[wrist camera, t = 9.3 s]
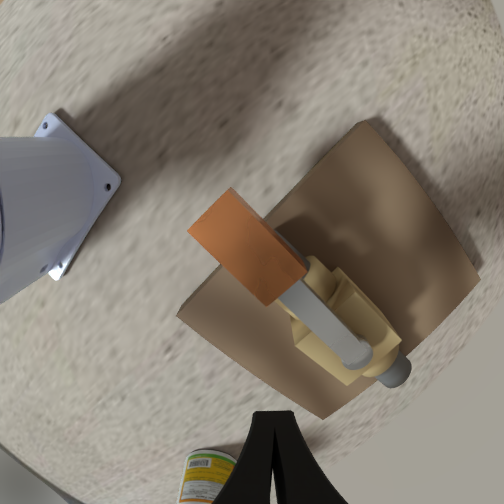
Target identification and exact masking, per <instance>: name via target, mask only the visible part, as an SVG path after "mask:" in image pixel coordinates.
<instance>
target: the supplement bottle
mask: <svg viewBox="0 0 504 504" xmlns="http://www.w3.org/2000/svg"><path fill="white" fill-rule="evenodd" d="M236 463H237V461H236V460H235V459H234V458H233V457H232V456H230V455H228V454H226V453H223V452H219V451H214V450H198V451H194V452H192V453H190V454H189V455H188V456H187V458H186V460H185V464H184V469H183V473H182V478H181V482H180V487H179V492H178V496H177V501H176V504H211V503H212V502H213V501H214V499H215V498H216V496H217V495H218V494H219V492H220V491H221V489H222V487H223V486H224V484H225V483H226V481H227V479H228V478H229V476H230V474H231V472H232V470H233V468H234V466H235V464H236Z"/></svg>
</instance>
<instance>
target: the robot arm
mask: <svg viewBox="0 0 504 504" xmlns="http://www.w3.org/2000/svg"><path fill="white" fill-rule="evenodd" d="M47 123H48V127H47V128H46V124H47ZM108 183H109V184H110V185H111V190H110V191H109V190H108V189H107V184H108ZM120 184H121V177H120V176H119V174H118V173H117V172H116V171H114V170H113V169H112V168H111V167H110V166H109V165H108V164H107V163H106V162H105V161H104V160H103V159H102V158H101V157H100V156H98V155H97V154H96V153H95V152H94V151H93V150H92V149H91V148H90V147H89V146H88V145H87V144H86V143H85V142H84V141H83V140H82V139H81V138H80V137H79V136H78V135H76V134H75V133H74V132H73V131H72V130H71V129H70V128H69V127H68V126H67V125H66V124H65V123H64V122H63V121H62V120H61V119H60V118H59V117H58V116H57V115H56V114H55V113H48V114H47V115H46V116H45V118H44V120H43V121H42V123H41V125H40V126H39V128H38V130H37V132H36V133H35V135H34V137H0V304H2V303H4V302H5V301H7V300H8V299H10V298H11V297H13V296H14V295H15V294H17V293H18V292H20V291H21V290H23V289H24V288H26V287H27V286H29V285H30V284H32V283H33V282H35V281H36V280H38V279H39V278H41V277H42V276H44V275H46V274H47V273H48V274H49V275H50V276H51V277H52V278H53V279H54V280H59V279H61V278H62V276H63V274H64V273H65V271H66V269H67V267H68V265H69V264H70V262H71V260H72V259H73V257H74V255H75V253H76V252H77V250H78V248H79V247H80V245H81V243H82V242H83V240H84V238H85V237H86V235H87V234H88V232H89V230H90V229H91V227H92V226H93V224H94V223H95V221H96V219H97V218H98V216H99V215H100V213H101V212H102V210H103V209H104V207H105V206H106V204H107V203H108V201H109V200H110V199H111V197H112V196H113V194H114V193H115V191H116V190H117V189H118V187H119V186H120ZM60 262H62V264H63V266H61V264H60ZM272 469H273V474H274V481H275V489H276V497H277V503H278V504H348V503H347V502H346V501H345V500H344V498H343V497H342V496H341V495H340V494H339V493H338V491H337V490H336V489H335V488H334V486H333V485H332V484H331V483H330V481H329V480H328V479H327V477H326V476H325V474H324V473H323V471H322V470H321V468H320V467H319V465H318V463H317V462H316V460H315V459H314V457H313V455H312V453H311V451H310V450H309V448H308V446H307V444H306V442H305V440H304V438H303V436H302V434H301V432H300V429H299V427H298V424H297V422H296V419H295V416H294V412H292V411H291V410H288V411H256V412H254V413H253V417H252V423H251V427H250V430H249V433H248V436H247V439H246V442H245V444H244V447H243V449H242V452H241V454H240V456H239V458H238V461H237V463H236V464H235V466H234V468H233V470H232V472H231V474H230V476H229V478H228V479H227V481H226V483H225V484H224V486H223V487H222V489H221V491H220V492H219V494H218V495H217V496H216V498H215V499H214V501H213V502H212V503H211V504H270V491H271V480H272Z"/></svg>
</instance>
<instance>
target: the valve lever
mask: <svg viewBox="0 0 504 504" xmlns="http://www.w3.org/2000/svg"><path fill="white" fill-rule="evenodd" d="M187 232H188V233H190V234H191V235H192V236H193V237H194V238H195V239H196V240H197V241H198V242H199V243H200V244H201V245H202V246H203V247H204V248H205V249H206V250H207V251H208V252H209V253H210V254H211V255H212V256H213V257H214V258H215V259H216V260H217V261H218V262H219V263H220V264H221V265H222V266H224V267H225V268H226V269H227V270H228V271H229V272H230V273H231V274H232V275H233V276H234V277H235V278H236V279H237V280H238V281H239V282H240V283H241V284H242V285H243V286H244V287H246V288H247V289H248V290H249V291H250V292H251V293H252V294H253V295H254V296H255V297H256V298H257V299H258V300H259V301H260V302H261V303H263V304H264V305H265V306H266V307H268V306H269V305H270V304H271V303H272V302H273V301H275V300H276V299H277V298H278V299H279V300H280V301H281V302H282V303H283V304H284V305H285V306H286V307H287V308H288V309H289V310H290V311H291V312H293V313H294V314H295V315H296V316H297V317H298V318H299V319H300V320H301V321H302V322H303V323H304V324H305V325H306V326H307V327H308V328H309V329H310V330H311V331H312V332H313V333H315V334H316V335H317V336H318V337H319V338H320V339H321V340H322V341H323V342H324V343H325V344H326V345H327V346H328V347H329V348H330V349H331V350H333V351H334V352H335V353H336V354H337V355H338V356H339V357H340V358H341V361H342V364H343V366H344V367H345V368H347V369H349V370H358V369H361V368H363V367H365V366H366V365H368V364H369V362H370V361H371V360H372V357H373V350H372V348H371V346H370V344H369V342H368V341H367V339H366V337H365V336H363V335H360V334H355V333H354V332H353V331H352V330H351V329H350V327H349V326H348V325H347V324H346V323H345V322H344V321H343V320H342V319H341V318H340V317H339V316H338V315H337V314H336V313H335V312H334V311H333V310H332V309H331V308H330V307H329V305H328V304H327V303H326V302H325V301H324V300H323V299H322V298H321V297H320V296H319V295H318V294H317V293H316V292H315V291H314V290H313V289H312V288H311V287H310V286H309V285H308V284H307V283H306V282H305V281H304V280H303V279H302V278H301V277H303V276H304V275H305V274H306V273H307V269H306V267H305V265H304V262H303V260H302V259H301V258H300V257H299V256H298V255H297V254H296V253H295V252H294V251H293V250H292V249H291V248H290V247H289V246H288V245H287V244H286V243H285V241H284V240H283V239H282V238H281V237H280V236H279V235H278V234H277V233H276V232H275V231H274V230H273V229H272V228H271V227H270V226H269V225H268V224H267V223H266V222H265V221H264V220H263V219H262V218H261V217H260V216H259V215H258V214H257V213H256V212H255V211H254V210H253V209H252V208H251V207H250V206H249V205H248V203H247V202H246V201H245V200H244V199H243V198H242V197H241V196H240V195H239V194H238V193H237V192H236V191H235V190H234V189H233V188H232V187H230V188H229V189H228V190H227V191H226V192H225V193H224V194H223V195H222V196H221V197H220V198H219V199H218V200H217V201H216V202H215V203H214V204H213V205H212V206H211V207H210V208H209V209H208V210H207V211H206V212H205V213H204V214H203V215H202V216H201V217H200V218H199V219H198V220H197V221H196V222H195V223H194V224H193V225H192V226H191V227H190V228H189V229H188V230H187Z"/></svg>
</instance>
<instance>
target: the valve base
mask: <svg viewBox="0 0 504 504" xmlns="http://www.w3.org/2000/svg"><path fill="white" fill-rule="evenodd" d="M263 220H264V221H265V222H266V223H267V224H268V225H269V226H270V227H271V228H272V229H273V230H274V231H275V232H276V233H277V234H278V235H279V236H280V237H281V238H282V239H283V240H284V241H285V243H286V244H287V245H288V246H289V247H290V248H291V249H292V250H293V251H294V252H295V253H296V254H297V255H298V256H299V257H300V258H301V259H302V260H303V262H304V265H305V267H306V269H307V273H306V274H305V275H304V276H303V277H301V278H302V279H303V280H304V281H305V282H306V283H307V284H308V285H309V286H310V287H311V288H312V289H313V290H314V291H315V292H316V293H317V294H318V295H319V296H320V297H321V298H322V299H323V300H324V301H325V302H326V303H327V304H328V305H329V307H330V308H331V309H332V310H333V311H334V312H335V313H336V314H337V315H338V316H339V317H340V318H341V319H342V320H343V321H344V322H345V323H346V324H347V325H348V326H349V327H350V329H351V330H352V331H353V332H354V333H355V334H360V335H363V336H365V337H366V339H367V341H368V342H369V344H370V346H371V348H372V350H373V357H372V360H371V361H370V362H369V364H368V365H366V366H365V367H363V368H361V369H358V370H349V369H347V368H345V367H344V366H343V364H342V361H341V358H340V357H339V356H338V355H337V354H336V353H335V352H334V351H333V350H331V349H330V348H329V347H328V346H327V345H326V344H325V343H324V342H323V341H322V340H321V339H320V338H319V337H318V336H317V335H316V334H315V333H313V332H312V331H311V330H310V329H309V328H308V327H307V326H306V325H305V324H304V323H303V322H302V321H301V320H300V319H299V318H298V317H297V316H296V315H295V314H294V313H293V312H291V311H290V310H289V309H288V308H287V307H286V306H285V305H284V304H283V303H282V302H281V301H280V300H279V299H278V298H277V299H276V300H275V301H273V302H272V303H271V304H270V305H269V306H268V307H266V306H265V305H264V304H263V303H261V302H260V301H259V300H258V299H257V298H256V297H255V296H254V295H253V294H252V293H251V292H250V291H249V290H248V289H247V288H246V287H244V286H243V285H242V284H241V283H240V282H239V281H238V280H237V279H236V278H235V277H234V276H233V275H232V274H231V273H230V272H229V271H228V270H227V269H226V268H225V267H224V266H222V265H221V264H220V265H219V266H218V267H217V268H216V269H215V270H214V271H213V272H212V273H211V274H210V275H209V277H208V278H207V279H206V280H205V281H204V282H203V283H202V284H201V285H200V286H199V287H198V288H197V289H196V290H195V291H194V292H193V294H192V295H191V296H190V297H189V298H188V299H187V300H186V301H185V302H184V303H183V304H182V305H181V307H180V309H179V311H178V313H177V315H176V316H177V317H178V318H179V319H181V320H182V321H183V322H184V323H186V324H187V325H188V326H189V327H191V328H192V329H193V330H194V331H196V332H197V333H198V334H199V335H201V336H202V337H203V338H205V339H206V340H207V341H209V342H210V343H211V344H212V345H214V346H215V347H216V348H218V349H219V350H220V351H222V352H223V353H224V354H226V355H227V356H228V357H230V358H231V359H233V360H234V361H235V362H237V363H238V364H239V365H241V366H242V367H244V368H245V369H246V370H248V371H249V372H251V373H252V374H254V375H255V376H256V377H258V378H259V379H261V380H262V381H264V382H265V383H267V384H268V385H269V386H271V387H272V388H274V389H275V390H277V391H278V392H280V393H281V394H283V395H284V396H286V397H288V398H289V399H291V400H292V401H294V402H295V403H297V404H298V405H300V406H301V407H303V408H305V409H306V410H308V411H309V412H311V413H313V414H314V415H316V416H318V417H319V418H321V419H322V420H324V419H325V418H327V417H328V416H330V415H331V414H332V413H334V412H335V411H337V410H338V409H340V408H341V407H343V406H344V405H345V404H347V403H348V402H349V401H351V400H352V399H354V398H355V397H356V396H358V395H359V394H360V393H362V392H363V391H364V390H366V389H367V388H368V387H369V386H371V385H372V384H373V383H375V382H376V381H377V380H379V381H380V382H381V383H382V384H384V385H385V386H386V387H388V388H395V387H398V386H400V385H401V384H403V383H404V382H405V381H406V380H407V378H408V377H409V375H410V373H411V368H412V366H411V362H410V361H409V360H408V359H407V358H406V356H407V355H408V354H409V353H410V352H411V351H412V350H413V349H415V348H416V347H417V346H418V345H419V344H420V343H421V342H422V341H423V340H424V339H425V338H426V337H427V336H428V335H429V334H431V333H432V332H433V331H434V330H435V329H436V328H437V327H438V326H439V325H440V324H441V323H442V322H443V321H444V320H445V319H446V318H447V317H448V315H449V314H450V313H451V312H452V311H453V310H454V309H455V308H456V307H457V306H458V305H459V304H460V303H461V302H462V301H463V299H464V298H465V297H466V296H467V295H468V294H469V293H470V292H471V290H472V289H473V288H474V287H475V286H476V285H477V283H478V282H479V281H480V280H481V279H480V277H479V275H478V274H477V272H476V270H475V268H474V266H473V265H472V263H471V261H470V259H469V258H468V256H467V254H466V253H465V251H464V249H463V248H462V246H461V244H460V243H459V241H458V239H457V238H456V236H455V235H454V233H453V232H452V230H451V228H450V227H449V225H448V224H447V222H446V221H445V219H444V218H443V216H442V215H441V213H440V212H439V211H438V209H437V208H436V206H435V205H434V203H433V202H432V201H431V199H430V198H429V196H428V195H427V194H426V192H425V191H424V190H423V188H422V187H421V186H420V184H419V183H418V182H417V180H416V179H415V178H414V176H413V175H412V174H411V173H410V171H409V170H408V169H407V168H406V166H405V165H404V164H403V163H402V161H401V160H400V159H399V158H398V156H397V155H396V154H395V153H394V152H393V151H392V149H391V148H390V147H389V146H388V145H387V144H386V142H385V141H384V140H383V139H382V138H381V137H380V136H379V134H378V133H377V132H376V131H375V130H374V129H373V128H372V127H371V126H370V125H369V123H368V122H367V121H366V120H364V121H361V122H358V123H356V124H355V125H354V126H353V127H352V128H351V129H350V131H349V132H348V133H347V134H346V135H345V136H344V137H343V138H342V139H341V140H340V141H339V142H338V143H337V144H336V145H335V146H334V147H333V148H332V149H331V150H330V151H329V152H328V153H327V154H326V155H325V156H324V157H323V158H322V159H321V160H320V161H319V162H318V163H317V164H316V165H315V166H314V167H313V168H312V169H311V170H310V171H309V172H308V173H307V174H306V175H305V176H304V177H303V178H302V179H301V180H300V181H299V183H298V184H297V185H296V186H295V187H294V188H293V189H292V190H291V191H290V192H289V193H288V194H287V195H286V196H285V197H284V198H283V199H282V200H281V201H280V202H279V203H278V204H277V205H276V206H275V207H274V208H273V209H272V210H271V211H270V213H269V214H268V215H267V216H266V217H265V218H264V219H263Z"/></svg>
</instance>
